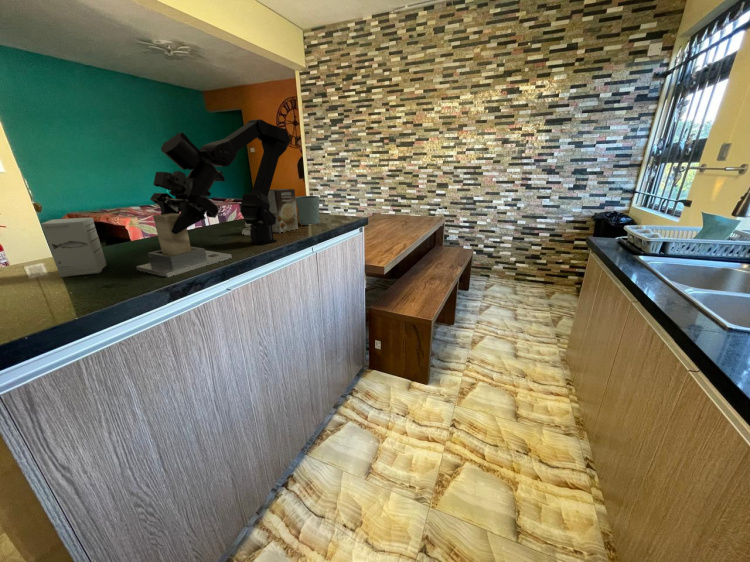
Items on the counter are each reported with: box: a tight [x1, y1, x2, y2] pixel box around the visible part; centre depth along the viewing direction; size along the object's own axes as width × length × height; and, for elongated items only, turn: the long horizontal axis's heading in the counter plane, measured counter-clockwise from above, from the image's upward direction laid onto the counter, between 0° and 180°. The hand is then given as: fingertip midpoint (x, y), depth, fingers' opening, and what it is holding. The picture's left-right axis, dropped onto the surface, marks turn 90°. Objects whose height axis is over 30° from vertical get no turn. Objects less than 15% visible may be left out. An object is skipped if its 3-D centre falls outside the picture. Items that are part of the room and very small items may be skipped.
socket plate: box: [135, 246, 232, 278], centre depth 80 cm, size 18×12×4 cm, turn 155°
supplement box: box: [41, 217, 107, 278], centre depth 73 cm, size 7×7×13 cm
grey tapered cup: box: [295, 195, 320, 225], centre depth 135 cm, size 10×10×12 cm
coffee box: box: [268, 188, 299, 234], centre depth 121 cm, size 9×6×16 cm
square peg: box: [152, 213, 192, 256], centre depth 77 cm, size 5×5×12 cm
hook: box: [239, 209, 252, 236], centre depth 116 cm, size 8×12×7 cm
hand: (166, 232), depth 75 cm, fingers open, 5 cm apart
